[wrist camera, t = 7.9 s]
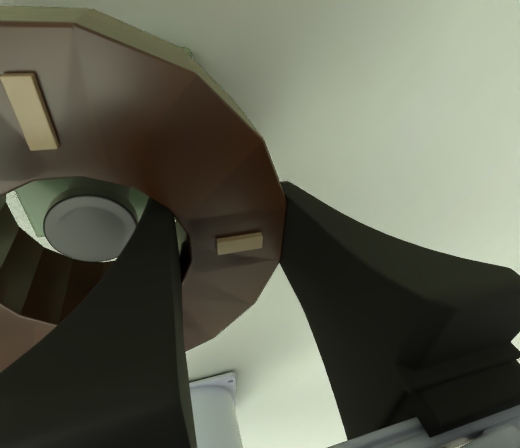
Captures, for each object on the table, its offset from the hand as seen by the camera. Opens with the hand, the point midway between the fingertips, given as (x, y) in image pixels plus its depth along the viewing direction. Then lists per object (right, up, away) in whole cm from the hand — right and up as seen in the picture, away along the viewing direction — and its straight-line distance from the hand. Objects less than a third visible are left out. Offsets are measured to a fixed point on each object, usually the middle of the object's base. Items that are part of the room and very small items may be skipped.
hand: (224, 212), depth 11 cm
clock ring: (-4, 0, 0) cm, 4 cm away
